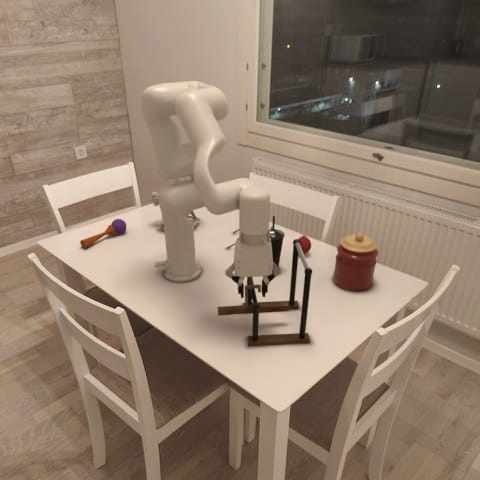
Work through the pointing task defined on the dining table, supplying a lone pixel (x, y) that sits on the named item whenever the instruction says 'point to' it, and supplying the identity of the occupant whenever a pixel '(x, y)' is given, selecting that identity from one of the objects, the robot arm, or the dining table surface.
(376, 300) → the dining table surface
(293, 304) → the rack
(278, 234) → the drinking cup
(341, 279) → the kitchen canister
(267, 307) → the hanger
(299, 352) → the dining table surface
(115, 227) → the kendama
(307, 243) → the red oval fruit
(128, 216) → the dining table surface
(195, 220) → the flower
